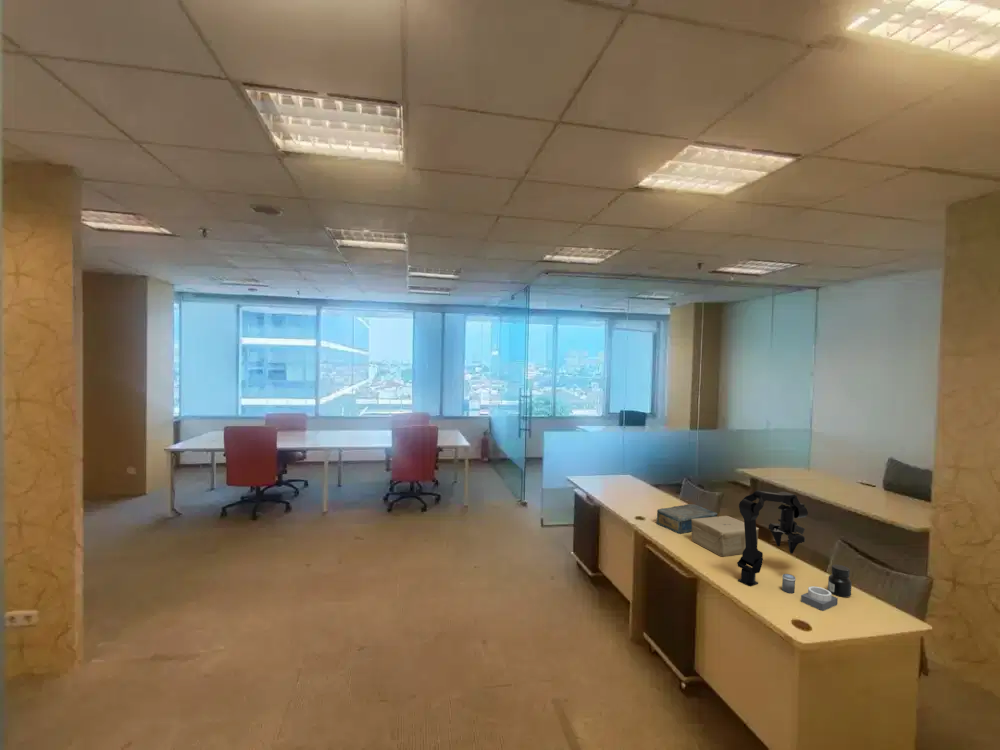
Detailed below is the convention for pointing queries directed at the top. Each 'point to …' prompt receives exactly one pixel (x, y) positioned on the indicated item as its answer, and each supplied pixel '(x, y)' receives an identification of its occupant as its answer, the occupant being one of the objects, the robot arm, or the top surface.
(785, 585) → the lens
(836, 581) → the ink bottle
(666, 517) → the metal box
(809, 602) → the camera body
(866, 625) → the top surface
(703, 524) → the paper package
